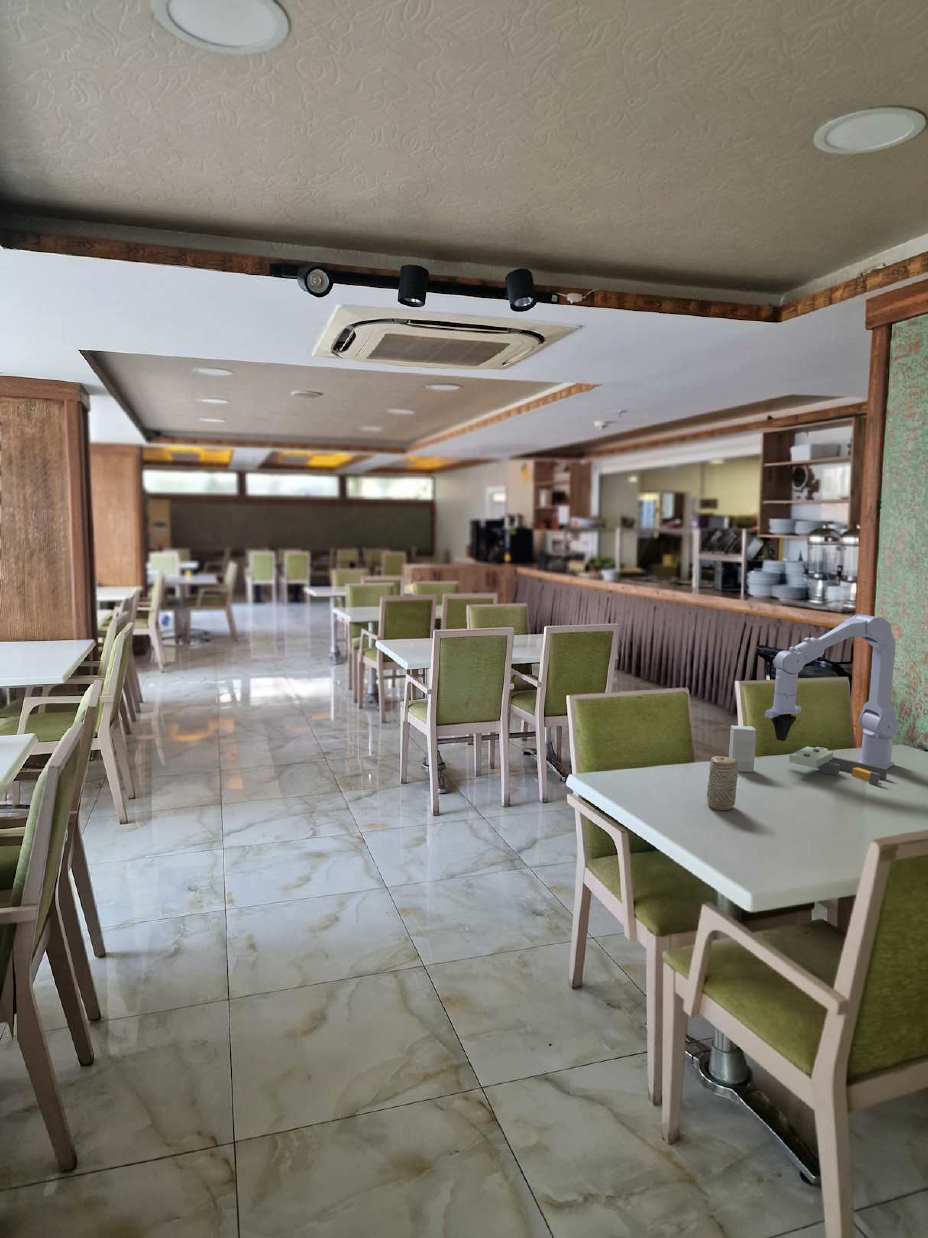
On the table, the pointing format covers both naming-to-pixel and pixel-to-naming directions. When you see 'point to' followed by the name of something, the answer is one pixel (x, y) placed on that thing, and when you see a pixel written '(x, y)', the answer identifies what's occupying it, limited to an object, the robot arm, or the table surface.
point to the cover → (811, 756)
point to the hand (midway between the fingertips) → (780, 740)
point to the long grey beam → (847, 765)
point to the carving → (722, 783)
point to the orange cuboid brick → (861, 773)
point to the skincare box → (743, 747)
